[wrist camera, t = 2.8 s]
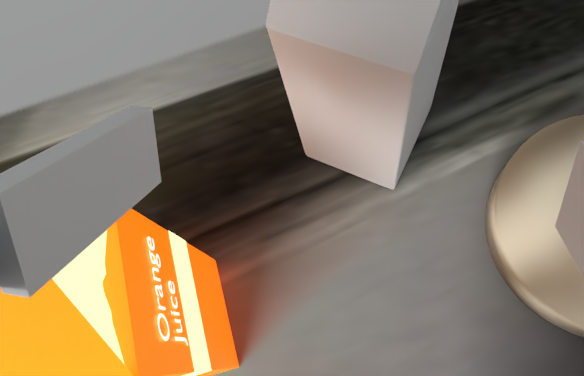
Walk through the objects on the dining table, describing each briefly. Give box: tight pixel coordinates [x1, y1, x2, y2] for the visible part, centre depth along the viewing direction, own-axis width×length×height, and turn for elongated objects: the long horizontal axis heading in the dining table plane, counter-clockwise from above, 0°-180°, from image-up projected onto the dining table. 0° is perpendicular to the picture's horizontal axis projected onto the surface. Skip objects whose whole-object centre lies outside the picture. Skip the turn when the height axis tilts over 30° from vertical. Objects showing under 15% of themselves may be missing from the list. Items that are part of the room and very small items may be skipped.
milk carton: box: [266, 0, 459, 190], centre depth 26 cm, size 7×7×19 cm
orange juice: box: [0, 209, 239, 376], centre depth 23 cm, size 8×9×20 cm
